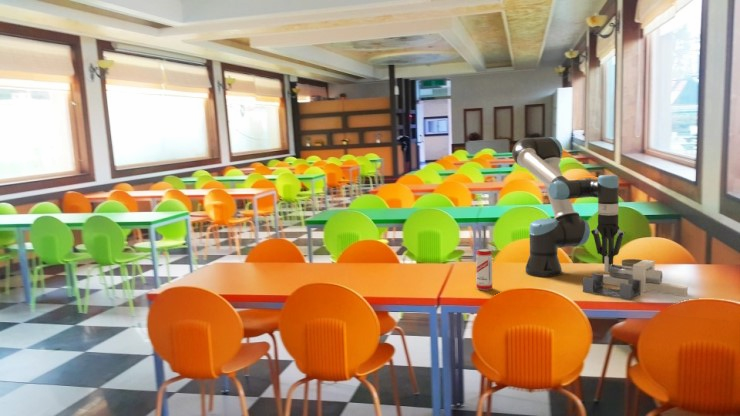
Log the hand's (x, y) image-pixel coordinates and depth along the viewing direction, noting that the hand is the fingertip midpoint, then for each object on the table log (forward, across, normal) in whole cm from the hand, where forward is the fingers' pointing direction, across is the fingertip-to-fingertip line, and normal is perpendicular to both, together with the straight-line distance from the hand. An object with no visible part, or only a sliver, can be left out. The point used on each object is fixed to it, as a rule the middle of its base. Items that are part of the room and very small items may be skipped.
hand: (607, 271), depth 226 cm
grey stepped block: (+5, +14, 0) cm, 15 cm away
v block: (+5, +7, -13) cm, 15 cm away
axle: (-1, +11, 0) cm, 11 cm away
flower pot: (+5, +5, +14) cm, 16 cm away
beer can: (+5, -34, -37) cm, 50 cm away
